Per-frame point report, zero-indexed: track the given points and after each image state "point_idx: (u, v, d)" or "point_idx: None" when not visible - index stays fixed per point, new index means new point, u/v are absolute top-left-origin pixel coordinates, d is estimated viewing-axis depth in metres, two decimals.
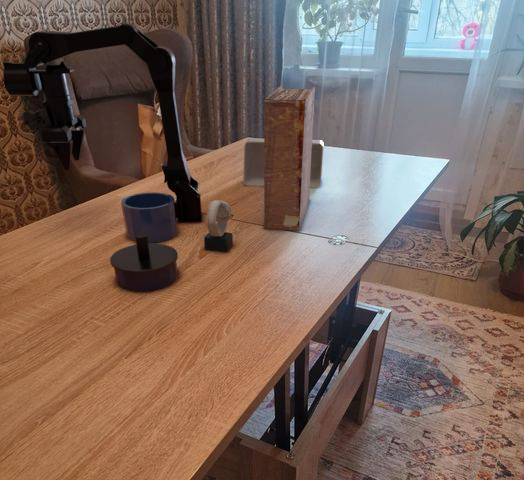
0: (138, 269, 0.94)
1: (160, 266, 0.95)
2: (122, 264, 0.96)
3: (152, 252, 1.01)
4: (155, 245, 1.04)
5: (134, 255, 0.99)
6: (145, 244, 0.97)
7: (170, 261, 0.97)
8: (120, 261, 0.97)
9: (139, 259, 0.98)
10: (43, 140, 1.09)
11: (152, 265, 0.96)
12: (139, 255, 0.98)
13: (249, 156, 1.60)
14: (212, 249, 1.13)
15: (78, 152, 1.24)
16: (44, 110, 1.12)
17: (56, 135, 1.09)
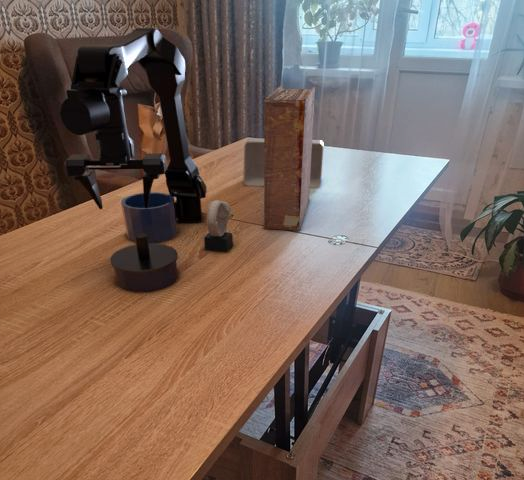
0: (138, 269, 0.94)
1: (160, 266, 0.95)
2: (122, 264, 0.96)
3: (152, 252, 1.01)
4: (155, 245, 1.04)
5: (134, 255, 0.99)
6: (145, 244, 0.97)
7: (170, 261, 0.97)
8: (120, 261, 0.97)
9: (139, 259, 0.98)
10: None
11: (152, 265, 0.96)
12: (139, 255, 0.98)
13: (249, 156, 1.60)
14: (212, 249, 1.13)
15: None
16: None
17: None
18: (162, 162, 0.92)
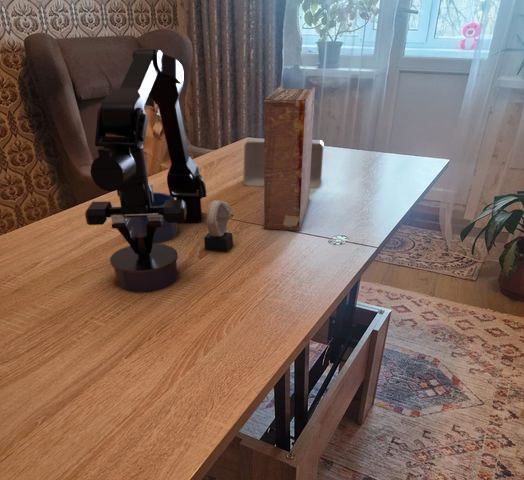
0: (138, 269, 0.94)
1: (160, 266, 0.95)
2: (122, 264, 0.96)
3: (152, 252, 1.01)
4: (155, 245, 1.04)
5: (134, 255, 0.99)
6: (145, 244, 0.97)
7: (170, 261, 0.97)
8: (120, 261, 0.97)
9: (139, 259, 0.98)
10: None
11: (152, 265, 0.96)
12: (139, 255, 0.98)
13: (249, 156, 1.60)
14: (212, 249, 1.13)
15: None
16: None
17: None
18: (183, 210, 0.92)
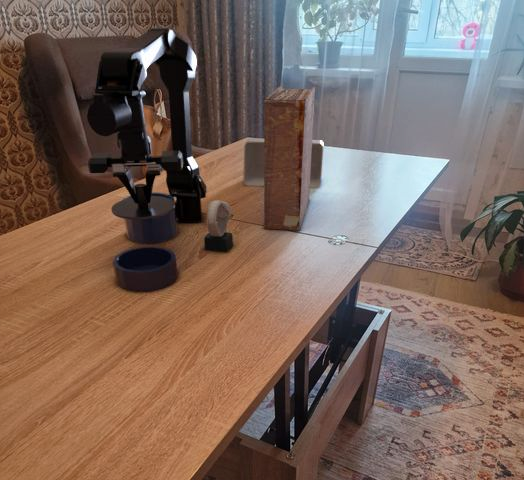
0: (138, 216, 1.00)
1: (159, 213, 1.01)
2: (123, 212, 1.02)
3: (151, 203, 1.07)
4: (154, 197, 1.10)
5: (134, 205, 1.05)
6: (144, 193, 1.03)
7: (168, 209, 1.03)
8: (121, 210, 1.03)
9: (139, 208, 1.04)
10: None
11: (151, 213, 1.02)
12: (139, 204, 1.04)
13: (249, 156, 1.60)
14: (212, 249, 1.13)
15: None
16: None
17: None
18: (179, 159, 0.98)
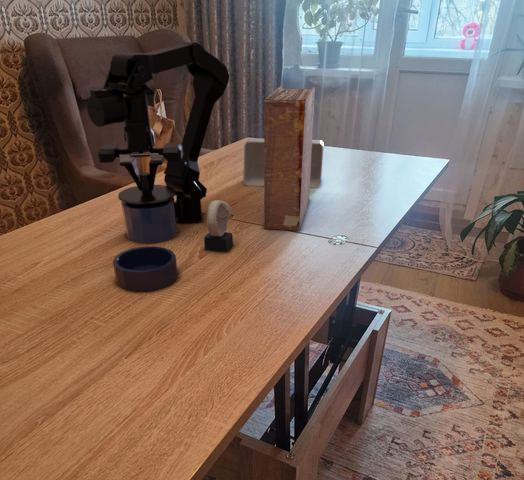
0: (142, 201, 1.11)
1: (160, 199, 1.13)
2: (128, 198, 1.13)
3: (154, 190, 1.18)
4: (156, 186, 1.21)
5: (138, 192, 1.17)
6: (148, 181, 1.14)
7: (169, 196, 1.14)
8: (127, 196, 1.14)
9: (143, 195, 1.15)
10: None
11: (154, 198, 1.13)
12: (143, 191, 1.15)
13: (249, 156, 1.60)
14: (212, 249, 1.13)
15: None
16: None
17: None
18: (179, 150, 1.09)
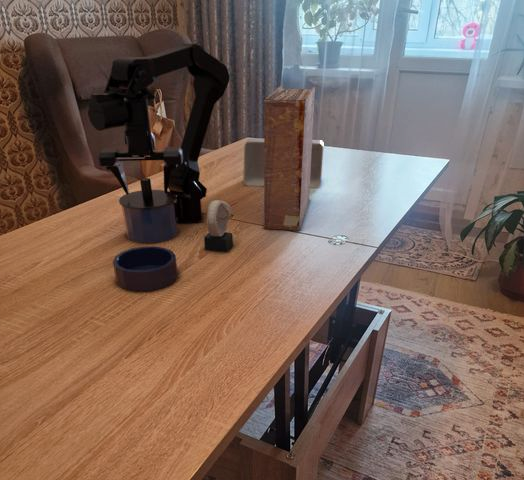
0: (143, 206, 1.12)
1: (161, 204, 1.13)
2: (129, 203, 1.14)
3: (154, 195, 1.19)
4: (157, 191, 1.22)
5: (139, 197, 1.17)
6: (148, 186, 1.15)
7: (170, 201, 1.15)
8: (127, 201, 1.15)
9: (143, 200, 1.16)
10: None
11: (154, 204, 1.14)
12: (143, 196, 1.16)
13: (249, 156, 1.60)
14: (212, 249, 1.13)
15: None
16: None
17: None
18: (180, 154, 1.10)
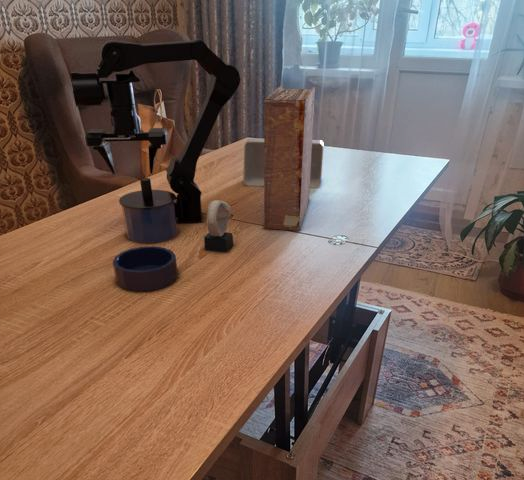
0: (143, 206, 1.12)
1: (161, 204, 1.13)
2: (129, 203, 1.14)
3: (154, 195, 1.19)
4: (157, 191, 1.22)
5: (139, 197, 1.17)
6: (148, 186, 1.15)
7: (170, 201, 1.15)
8: (127, 201, 1.15)
9: (143, 200, 1.16)
10: None
11: (154, 204, 1.14)
12: (143, 196, 1.16)
13: (249, 156, 1.60)
14: (212, 249, 1.13)
15: None
16: None
17: None
18: (164, 134, 1.14)
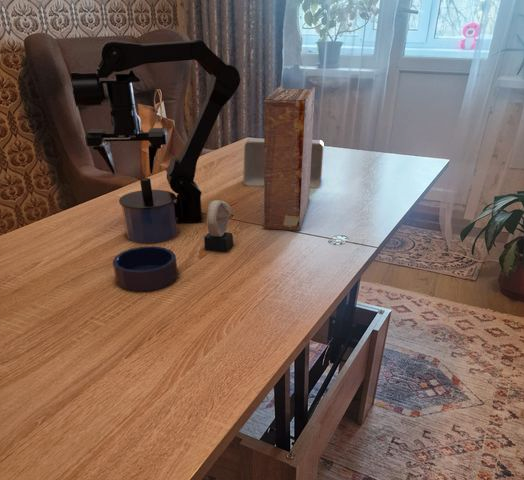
0: (143, 206, 1.12)
1: (161, 204, 1.13)
2: (129, 203, 1.14)
3: (154, 195, 1.19)
4: (157, 191, 1.22)
5: (139, 197, 1.17)
6: (148, 186, 1.15)
7: (170, 201, 1.15)
8: (127, 201, 1.15)
9: (143, 200, 1.16)
10: None
11: (154, 204, 1.14)
12: (143, 196, 1.16)
13: (249, 156, 1.60)
14: (212, 249, 1.13)
15: None
16: None
17: None
18: (164, 134, 1.14)
